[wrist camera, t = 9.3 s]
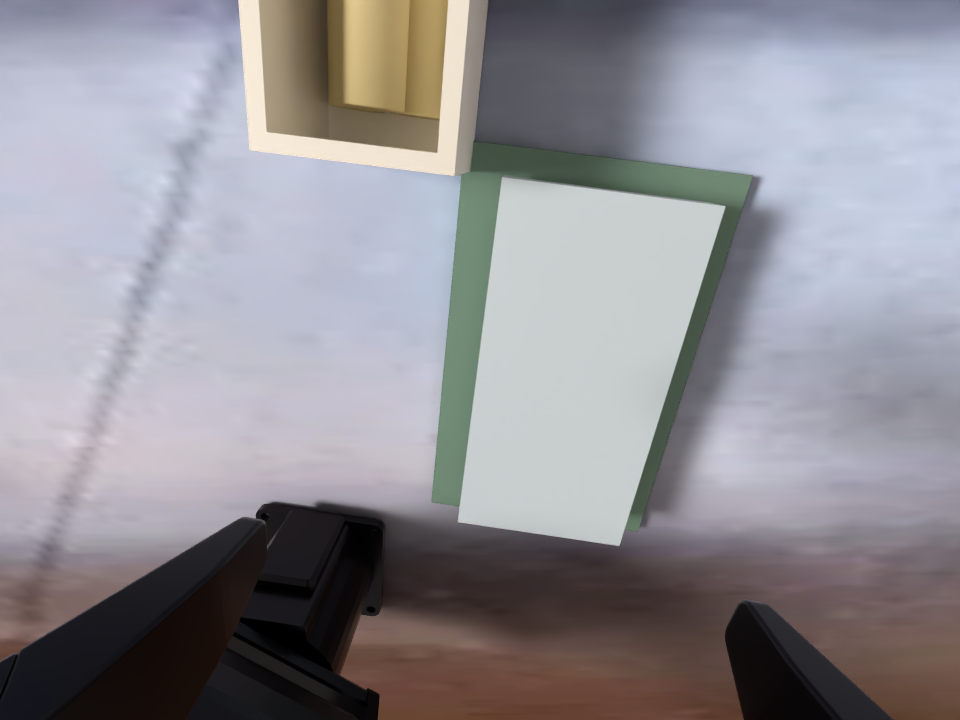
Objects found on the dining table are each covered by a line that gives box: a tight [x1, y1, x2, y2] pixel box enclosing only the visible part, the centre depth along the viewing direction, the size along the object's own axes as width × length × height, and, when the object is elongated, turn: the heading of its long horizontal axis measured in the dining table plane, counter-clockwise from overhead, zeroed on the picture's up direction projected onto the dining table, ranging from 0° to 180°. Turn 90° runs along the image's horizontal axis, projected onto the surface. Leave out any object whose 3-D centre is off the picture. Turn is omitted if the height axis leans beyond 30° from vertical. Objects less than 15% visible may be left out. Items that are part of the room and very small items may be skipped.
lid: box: [458, 176, 726, 546], centre depth 19 cm, size 14×7×2 cm, turn 173°
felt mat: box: [432, 141, 753, 532], centre depth 20 cm, size 16×10×1 cm, turn 174°
